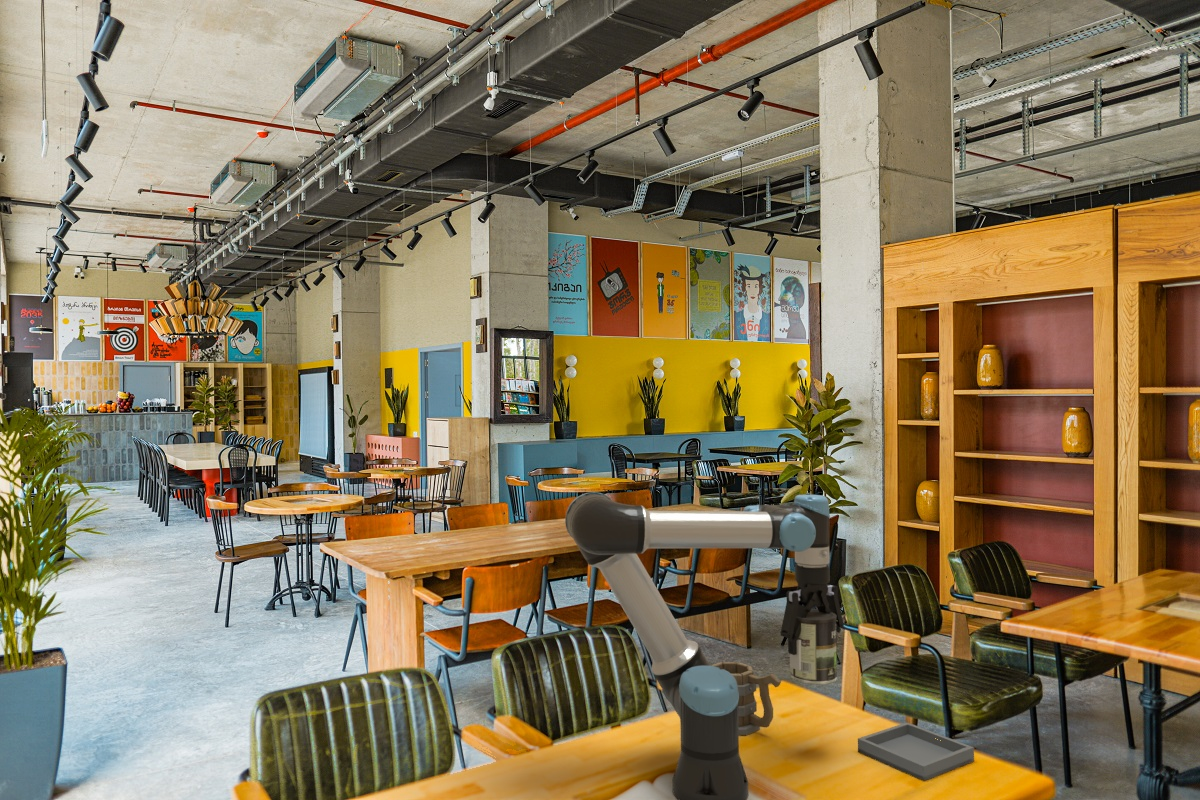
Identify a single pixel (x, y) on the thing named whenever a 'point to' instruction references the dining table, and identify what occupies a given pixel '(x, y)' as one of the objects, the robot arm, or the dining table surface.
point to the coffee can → (817, 649)
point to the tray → (916, 750)
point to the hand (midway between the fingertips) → (812, 664)
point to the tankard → (750, 696)
